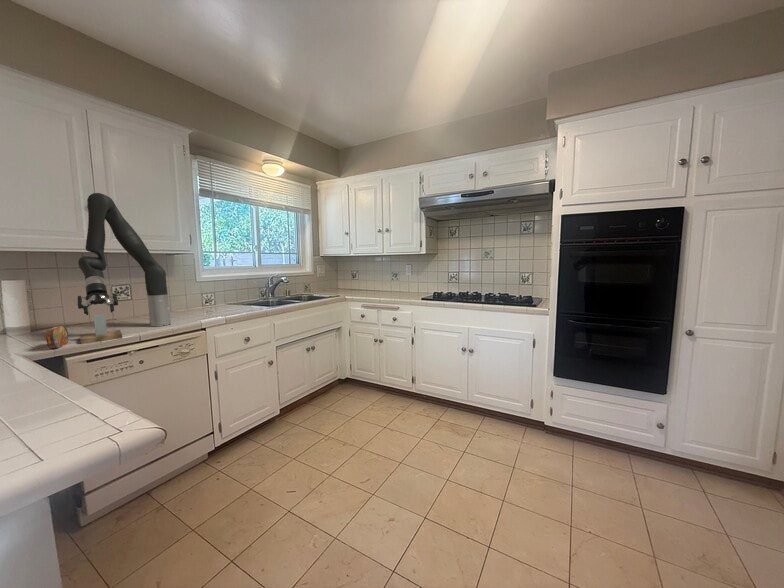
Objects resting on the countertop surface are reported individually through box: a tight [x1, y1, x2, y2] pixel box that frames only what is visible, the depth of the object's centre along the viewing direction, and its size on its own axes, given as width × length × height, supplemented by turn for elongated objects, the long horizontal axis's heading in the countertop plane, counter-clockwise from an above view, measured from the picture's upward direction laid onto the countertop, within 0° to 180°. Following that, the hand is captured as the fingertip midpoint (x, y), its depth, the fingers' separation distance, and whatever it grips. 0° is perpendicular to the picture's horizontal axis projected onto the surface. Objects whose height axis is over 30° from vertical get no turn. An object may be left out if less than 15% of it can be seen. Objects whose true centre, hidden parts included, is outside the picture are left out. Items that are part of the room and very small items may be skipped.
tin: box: [45, 325, 69, 350], centre depth 137 cm, size 15×3×8 cm, turn 29°
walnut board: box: [80, 329, 123, 345], centre depth 151 cm, size 14×14×2 cm
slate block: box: [93, 313, 108, 336], centre depth 150 cm, size 4×4×9 cm
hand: (99, 312), depth 152 cm, fingers open, 8 cm apart
